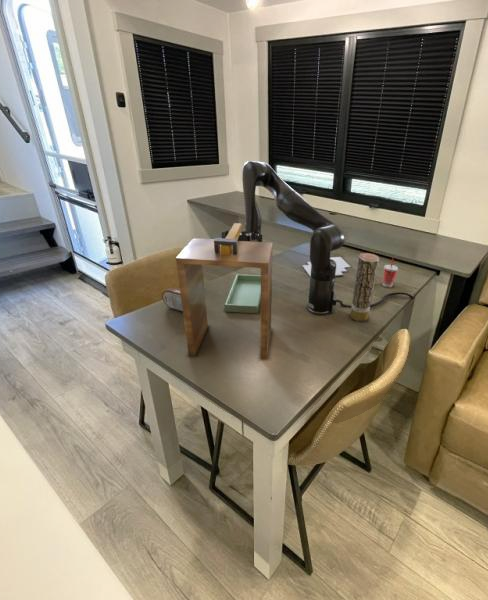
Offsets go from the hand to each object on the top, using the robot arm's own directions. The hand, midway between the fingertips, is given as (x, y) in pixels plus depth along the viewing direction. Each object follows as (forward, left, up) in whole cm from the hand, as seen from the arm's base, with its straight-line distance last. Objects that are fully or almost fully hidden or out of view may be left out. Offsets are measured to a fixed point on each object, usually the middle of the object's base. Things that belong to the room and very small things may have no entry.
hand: (239, 234), depth 111 cm
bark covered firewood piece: (-45, +1, -30) cm, 54 cm away
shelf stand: (0, +20, -30) cm, 36 cm away
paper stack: (-36, -46, -30) cm, 66 cm away
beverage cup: (-63, -28, -30) cm, 75 cm away
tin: (+22, +2, -30) cm, 38 cm away
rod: (0, +13, +2) cm, 13 cm away
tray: (0, -12, -30) cm, 32 cm away
